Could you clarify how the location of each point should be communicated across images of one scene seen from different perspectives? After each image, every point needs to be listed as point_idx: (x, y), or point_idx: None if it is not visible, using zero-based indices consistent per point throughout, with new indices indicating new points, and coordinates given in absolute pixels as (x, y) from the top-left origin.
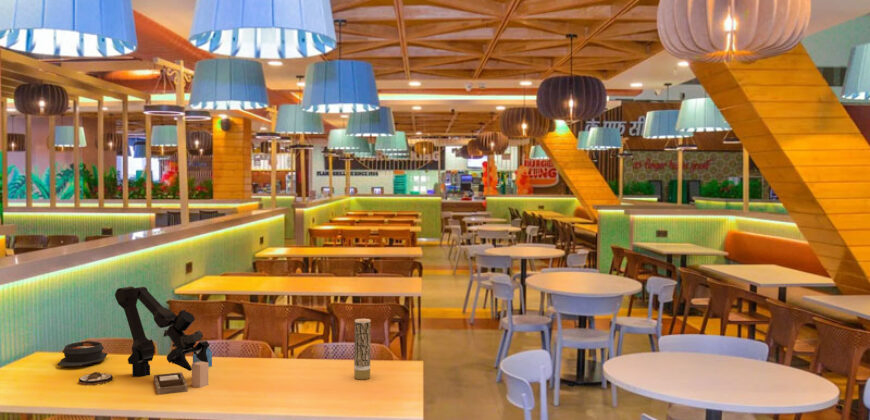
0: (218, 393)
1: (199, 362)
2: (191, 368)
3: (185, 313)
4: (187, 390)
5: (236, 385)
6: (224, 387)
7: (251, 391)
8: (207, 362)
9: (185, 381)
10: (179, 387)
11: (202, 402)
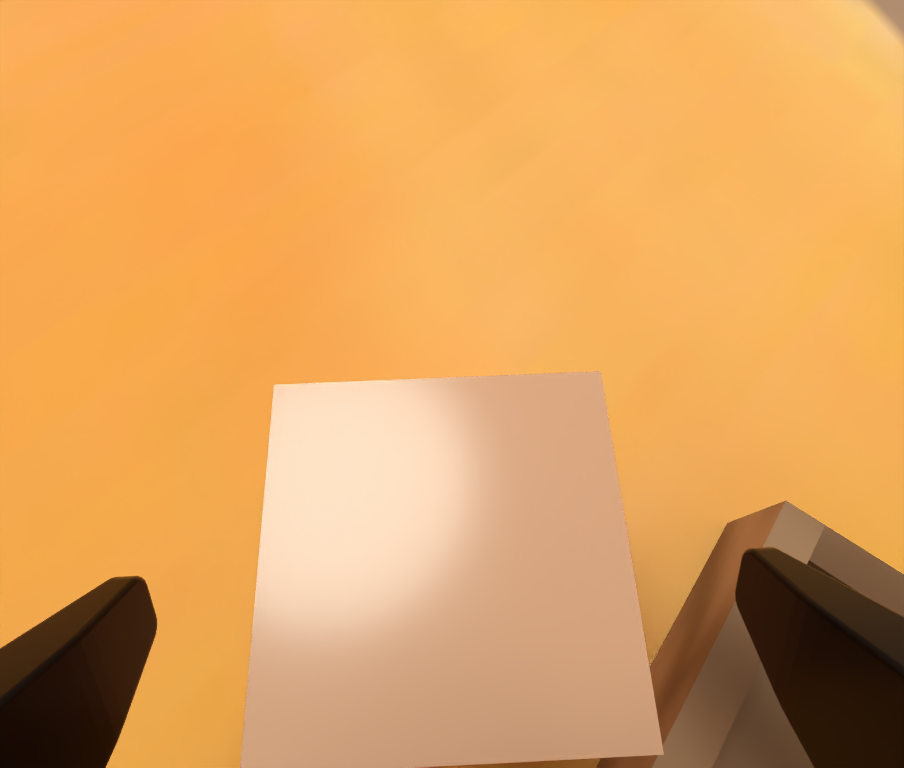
0: (506, 244)
1: (391, 636)
2: (769, 554)
3: None
4: (748, 518)
5: (180, 286)
6: (301, 338)
7: (302, 71)
8: (281, 409)
9: (677, 736)
10: (895, 579)
11: (792, 176)
